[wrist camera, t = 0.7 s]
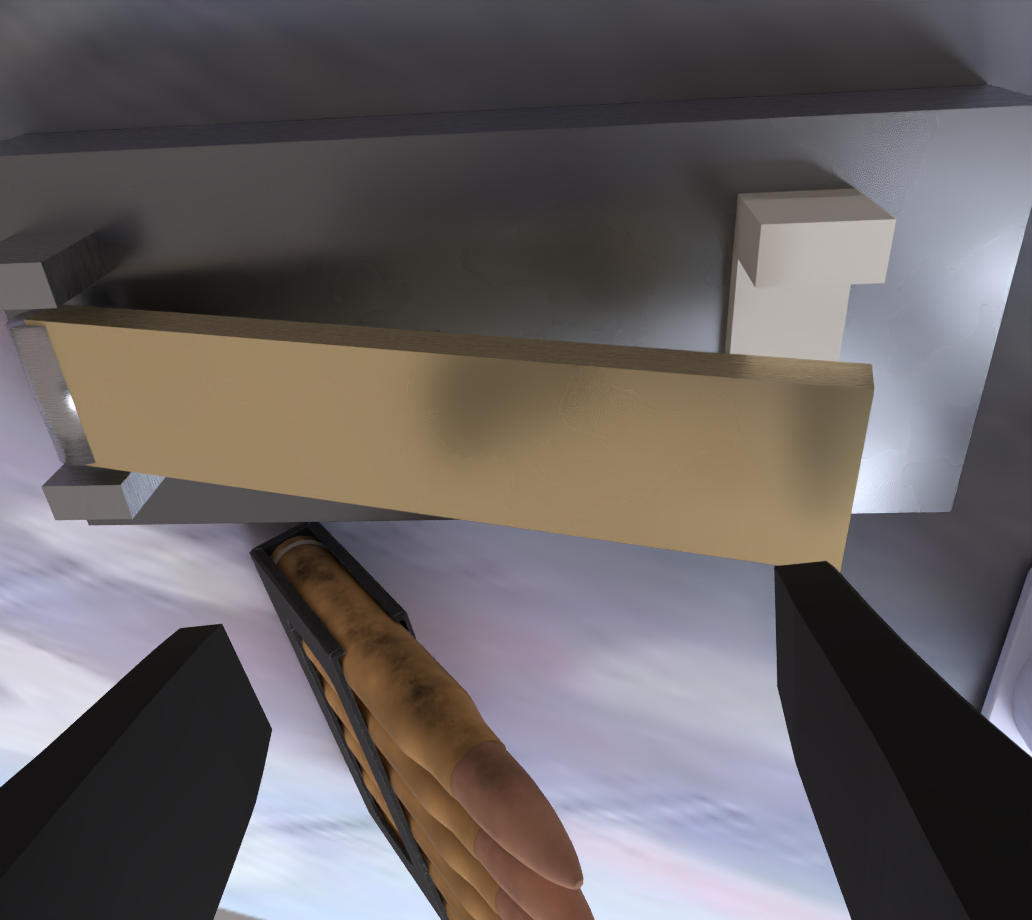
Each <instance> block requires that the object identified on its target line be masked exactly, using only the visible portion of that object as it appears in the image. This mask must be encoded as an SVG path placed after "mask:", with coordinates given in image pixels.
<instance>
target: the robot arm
mask: <svg viewBox="0 0 1032 920" xmlns="http://www.w3.org/2000/svg"><path fill="white" fill-rule="evenodd" d="M774 570H775V610H776V649H777V687H778V691H779V695H780V699H781V704H782V708H783V712H784V717H785V721H786V725H787V730H788V734H789V738H790V742H791V746H792V750H793V754H794V758H795V762H796V766H797V768H798V771H799V774H800V777H801V780H802V783H803V786H804V788H805V791H806V794H807V797H808V800H809V802H810V805H811V808H812V811H813V814H814V817H815V819H816V822H817V825H818V828H819V831H820V833H821V836H822V839H823V842H824V844H825V847H826V850H827V853H828V856H829V858H830V861H831V864H832V867H833V869H834V872H835V875H836V878H837V881H838V883H839V886H840V889H841V892H842V894H843V897H844V900H845V903H846V906H847V908H848V911H849V914H850V917H851V919H852V920H1032V567H1031V569H1030V571H1029V572H1028V575H1027V578H1026V581H1025V584H1024V586H1023V589H1022V592H1021V595H1020V598H1019V601H1018V604H1017V607H1016V610H1015V613H1014V616H1013V619H1012V622H1011V625H1010V628H1009V631H1008V634H1007V637H1006V640H1005V643H1004V646H1003V649H1002V652H1001V655H1000V658H999V661H998V664H997V667H996V670H995V673H994V676H993V679H992V681H991V684H990V687H989V690H988V693H987V696H986V699H985V702H984V705H983V708H982V711H981V713H980V712H979V711H978V710H977V709H975V708H974V707H973V706H972V705H971V704H970V703H969V702H968V701H966V700H965V699H964V698H963V697H962V696H961V695H960V694H959V693H958V692H957V691H956V690H954V689H953V688H952V687H951V686H950V685H949V684H948V683H947V682H946V681H945V680H944V679H943V678H942V677H941V676H940V675H939V674H938V673H937V672H935V671H934V670H933V669H932V668H931V667H930V666H929V665H928V664H927V663H926V662H925V661H924V660H923V659H922V658H921V657H920V656H919V655H918V654H917V653H915V652H914V651H913V650H912V649H911V648H910V647H909V646H908V645H907V644H906V643H905V642H904V641H903V640H902V639H901V638H900V637H899V636H898V635H897V634H896V632H895V631H894V630H893V629H892V628H891V627H890V626H889V625H888V624H887V623H886V622H885V621H884V620H883V619H882V618H881V617H880V616H879V615H878V614H877V613H876V612H875V611H874V610H873V609H872V608H871V606H870V605H869V604H868V603H867V602H866V601H865V600H864V599H863V598H862V597H861V596H860V595H859V593H858V592H857V591H856V590H855V589H854V588H853V587H852V586H851V585H850V584H849V582H848V581H847V580H846V579H845V578H844V577H843V576H842V575H841V573H840V572H839V571H838V570H837V569H836V568H835V567H834V566H833V565H831V564H830V563H829V562H827V561H819V562H809V563H799V564H790V565H780V566H774ZM271 732H272V728H271V726H270V724H269V722H268V720H267V717H266V715H265V713H264V711H263V709H262V707H261V705H260V703H259V701H258V698H257V696H256V694H255V692H254V690H253V688H252V686H251V684H250V682H249V679H248V677H247V675H246V673H245V671H244V669H243V667H242V665H241V663H240V660H239V658H238V656H237V654H236V652H235V650H234V648H233V646H232V644H231V641H230V639H229V637H228V635H227V633H226V631H225V629H224V627H223V625H222V624H216V625H206V626H197V627H187V628H180V629H179V630H177V631H176V632H175V633H174V634H172V635H171V636H170V637H169V638H167V639H166V640H165V641H164V642H163V643H161V644H160V645H159V646H158V647H157V648H156V649H154V650H153V651H152V652H151V653H150V654H149V655H148V656H147V657H145V658H144V659H143V660H142V661H141V662H140V663H139V664H138V665H137V666H135V667H134V668H133V669H132V670H131V671H130V672H129V673H128V674H127V675H126V676H124V677H123V678H122V679H121V680H120V681H119V682H118V683H117V684H116V685H115V686H114V687H112V688H111V689H110V690H109V691H108V692H107V693H106V694H105V695H104V696H103V697H102V698H100V699H99V700H98V701H97V702H96V703H95V704H94V705H93V706H92V707H91V708H89V709H88V710H87V711H86V712H85V713H84V714H83V715H82V716H81V717H80V718H78V719H77V720H76V721H75V722H74V723H73V724H72V725H71V726H70V727H69V728H67V729H66V730H65V731H64V732H63V733H62V734H61V735H60V736H59V737H58V738H56V739H55V740H54V741H53V742H52V743H51V744H50V745H49V746H48V747H47V748H45V749H44V750H43V751H42V752H41V753H40V754H39V755H38V756H36V757H35V758H34V759H33V760H32V761H31V762H29V763H28V764H27V765H26V766H25V767H24V768H22V769H21V770H20V771H19V772H18V773H17V774H15V775H14V776H13V777H12V778H11V779H9V780H8V781H7V782H6V783H5V784H4V785H2V786H1V787H0V920H213V919H214V916H215V914H216V911H217V908H218V906H219V903H220V900H221V897H222V895H223V892H224V889H225V887H226V884H227V881H228V879H229V876H230V873H231V871H232V868H233V865H234V862H235V860H236V857H237V854H238V851H239V849H240V846H241V843H242V840H243V837H244V835H245V832H246V829H247V826H248V824H249V821H250V818H251V815H252V812H253V809H254V806H255V803H256V799H257V795H258V791H259V787H260V783H261V779H262V775H263V771H264V766H265V761H266V756H267V752H268V747H269V742H270V737H271Z"/></svg>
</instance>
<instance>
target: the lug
mask: <svg viewBox="0 0 1032 920" xmlns="http://www.w3.org/2000/svg"><path fill="white" fill-rule="evenodd" d="M895 223H896V219H895V218H894V217H893V216H891V215H890V214H889V213H888V212H886V211H885V210H884V209H882V208H881V207H880V206H878V205H877V204H876V203H874V202H873V201H872V200H871V199H869V198H868V197H867V196H865V195H864V194H863V193H861V192H860V191H859V190H857V189H856V188H854V189H831V190H808V191H785V192H761V193H738V197H737V209H736V221H735V234H734V246H733V258H732V270H731V282H730V294H729V307H728V319H727V331H726V343H725V353H729V354H743V355H756V356H770V357H783V358H797V359H810V360H824V361H838V362H839V356H840V350H841V344H842V337H843V331H844V325H845V319H846V312H847V306H848V300H849V294H850V287H851V284H877V283H885V279H886V273H887V268H888V262H889V257H890V251H891V246H892V240H893V235H894V229H895Z"/></svg>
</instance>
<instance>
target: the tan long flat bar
mask: <svg viewBox="0 0 1032 920" xmlns="http://www.w3.org/2000/svg"><path fill="white" fill-rule="evenodd" d="M6 326H7V328H8V331H9V333H10V336H11V338H12V341H13V343H14V346H15V348H16V351H17V354H18V356H19V359H20V361H21V364H22V366H23V369H24V371H25V374H26V376H27V379H28V381H29V384H30V386H31V389H32V391H33V394H34V396H35V399H36V402H37V404H38V407H39V409H40V412H41V414H42V417H43V419H44V422H45V424H46V427H47V429H48V432H49V434H50V437H51V439H52V442H53V444H54V447H55V450H56V452H57V455H58V457H59V460H60V461H61V462H62V463H64V464H66V465H73V466H78V465H87V466H94V467H101V468H108V469H115V470H122V471H128V472H135V473H142V474H149V475H156V476H163V477H170V478H177V479H184V480H191V481H198V482H205V483H212V484H219V485H225V486H232V487H239V488H246V489H253V490H260V491H267V492H274V493H281V494H288V495H295V496H302V497H309V498H315V499H322V500H329V501H336V502H343V503H350V504H357V505H364V506H371V507H378V508H385V509H392V510H399V511H406V512H412V513H419V514H426V515H433V516H440V517H447V518H454V519H461V520H468V521H475V522H482V523H489V524H496V525H503V526H509V527H516V528H523V529H530V530H537V531H544V532H551V533H558V534H565V535H572V536H579V537H586V538H593V539H600V540H606V541H613V542H620V543H627V544H634V545H641V546H648V547H655V548H662V549H669V550H676V551H683V552H690V553H696V554H703V555H710V556H717V557H724V558H731V559H738V560H745V561H752V562H759V563H766V564H773V565H790V564H799V563H809V562H819V561H827V562H829V563H830V564H831V565H833V566H834V567H835V568H836V569H837V570H838V571H839V572H840V571H841V566H842V561H843V555H844V550H845V545H846V539H847V534H848V529H849V523H850V518H851V513H852V507H853V502H854V497H855V491H856V486H857V481H858V475H859V470H860V465H861V459H862V454H863V449H864V443H865V438H866V433H867V427H868V422H869V417H870V411H871V406H872V401H873V396H874V390H875V389H874V379H873V370H872V364H865V363H851V362H838V361H824V360H810V359H797V358H783V357H770V356H756V355H743V354H729V353H716V352H702V351H689V350H675V349H662V348H648V347H634V346H621V345H607V344H594V343H580V342H567V341H553V340H540V339H526V338H513V337H499V336H485V335H472V334H458V333H445V332H431V331H418V330H404V329H391V328H377V327H364V326H350V325H337V324H323V323H309V322H296V321H282V320H269V319H255V318H242V317H228V316H215V315H201V314H188V313H174V312H160V311H147V310H133V309H120V308H106V307H93V306H79V305H66V304H63V305H61V306H60V307H58V308H48V309H33V310H29V311H26V312H23V313H21V314H18V315H16V316H14V317H12V318H11V319H9V320H8V321H7V323H6Z"/></svg>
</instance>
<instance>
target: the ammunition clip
mask: <svg viewBox="0 0 1032 920" xmlns="http://www.w3.org/2000/svg"><path fill="white" fill-rule="evenodd" d="M250 555H251V558H252V560H253V562H254V564H255V566H256V568H257V571H258V573H259V575H260V577H261V579H262V581H263V584H264V586H265V588H266V590H267V592H268V594H269V597H270V599H271V601H272V603H273V605H274V607H275V610H276V612H277V614H278V616H279V618H280V620H281V623H282V625H283V627H284V629H285V631H286V633H287V636H288V638H289V640H290V642H291V644H292V647H293V649H294V651H295V653H296V655H297V657H298V660H299V662H300V664H301V666H302V668H303V670H304V673H305V675H306V677H307V679H308V681H309V683H310V686H311V688H312V690H313V692H314V694H315V696H316V699H317V701H318V703H319V705H320V707H321V709H322V712H323V714H324V716H325V718H326V720H327V722H328V725H329V727H330V729H331V731H332V733H333V735H334V738H335V740H336V742H337V744H338V746H339V748H340V751H341V753H342V755H343V757H344V759H345V761H346V764H347V766H348V768H349V770H350V772H351V774H352V777H353V779H354V781H355V783H356V785H357V787H358V790H359V792H360V794H361V796H362V798H363V800H364V803H365V805H366V807H367V809H368V811H369V813H370V815H371V816H372V818H373V819H374V820H375V822H376V823H377V825H378V826H379V828H380V829H381V831H382V832H383V834H384V835H385V837H386V838H387V840H388V841H389V843H390V844H391V846H392V847H393V849H394V850H395V852H396V853H397V855H398V856H399V858H400V859H401V861H402V862H403V864H404V865H405V867H406V868H407V870H408V871H409V872H410V874H411V875H412V877H413V878H414V880H415V881H416V883H417V884H418V886H419V887H420V889H421V890H422V892H423V893H424V895H425V896H426V898H427V899H428V901H429V902H430V904H431V905H432V907H433V908H434V910H435V911H436V913H437V914H438V916H439V917H440V919H441V920H594V917H593V915H592V912H591V909H590V907H589V905H588V903H587V901H586V899H585V897H584V895H583V893H582V891H581V889H580V887H581V886H582V884H583V874H582V870H581V867H580V863H579V860H578V857H577V854H576V852H575V849H574V847H573V844H572V842H571V840H570V838H569V836H568V834H567V832H566V830H565V828H564V826H563V824H562V823H561V821H560V819H559V817H558V816H557V814H556V812H555V811H554V809H553V807H552V806H551V804H550V803H549V801H548V800H547V798H546V797H545V796H544V794H543V793H542V792H541V790H540V789H539V787H538V786H537V785H536V783H535V782H534V781H533V779H532V778H531V777H530V775H529V774H528V773H527V772H526V771H525V770H524V769H523V768H522V766H521V765H520V764H519V763H518V762H517V761H516V760H515V759H514V758H513V757H512V756H511V754H510V753H509V752H508V751H507V750H506V747H505V745H504V744H503V743H502V742H501V741H500V739H499V738H498V737H497V736H496V735H495V734H494V732H493V731H492V730H491V729H490V728H489V727H488V725H487V724H486V723H485V722H484V720H483V718H482V717H481V715H480V713H479V711H478V709H477V708H476V706H475V704H474V702H473V701H472V699H471V697H470V696H469V695H468V693H467V692H466V691H465V690H464V689H463V688H462V687H461V686H460V685H459V684H458V682H457V681H456V680H455V679H454V678H453V677H452V676H451V675H450V674H449V673H448V672H447V671H446V670H445V669H444V668H443V667H442V666H441V665H440V664H439V663H438V662H437V661H436V660H435V659H434V658H433V657H432V656H431V655H430V654H429V652H428V651H427V650H426V649H425V648H424V647H423V646H422V645H421V644H420V643H419V642H418V641H417V640H416V637H415V635H414V632H413V629H412V626H411V623H410V621H409V618H408V615H407V612H406V611H405V610H404V609H403V608H402V607H401V606H400V605H399V604H398V603H397V602H396V601H395V600H394V599H393V598H392V597H391V596H390V595H389V594H388V593H387V592H386V591H385V590H384V589H383V588H382V587H381V586H380V584H379V583H378V582H377V581H376V580H375V579H374V578H373V577H372V576H371V575H370V574H369V573H368V572H367V571H366V570H365V569H364V568H363V567H362V566H361V565H360V564H359V563H358V562H357V561H356V560H355V559H354V558H353V557H352V556H351V555H350V554H349V553H348V552H347V550H346V549H345V548H344V547H343V546H342V545H341V544H340V543H339V542H338V541H337V540H336V539H335V538H334V537H333V536H332V535H331V534H330V533H329V532H328V531H327V530H326V529H325V528H324V527H323V526H322V525H321V524H320V523H319V522H304V523H302V524H300V525H298V526H296V527H294V528H292V529H290V530H288V531H286V532H285V533H283V534H281V535H279V536H277V537H275V538H273V539H271V540H269V541H267V542H265V543H263V544H261V545H259V546H257V547H255V548H253V549H252V550H251V552H250Z"/></svg>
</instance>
